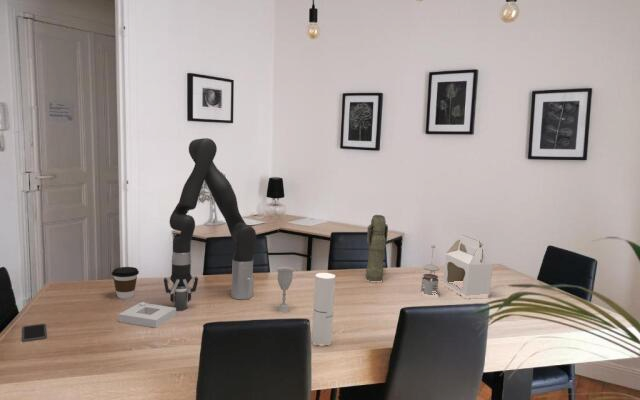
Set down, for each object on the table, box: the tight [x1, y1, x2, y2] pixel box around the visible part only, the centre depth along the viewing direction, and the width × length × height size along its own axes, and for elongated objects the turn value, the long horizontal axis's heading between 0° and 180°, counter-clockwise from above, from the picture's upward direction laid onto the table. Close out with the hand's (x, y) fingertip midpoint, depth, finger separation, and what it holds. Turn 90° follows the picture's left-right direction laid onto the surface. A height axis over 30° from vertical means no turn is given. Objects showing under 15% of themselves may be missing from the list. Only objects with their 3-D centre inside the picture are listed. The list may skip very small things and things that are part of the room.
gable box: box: [442, 234, 493, 296], centre depth 244 cm, size 22×13×28 cm, turn 16°
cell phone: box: [21, 323, 48, 343], centre depth 169 cm, size 7×14×1 cm, turn 31°
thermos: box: [365, 214, 389, 281], centre depth 254 cm, size 9×12×35 cm
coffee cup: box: [111, 266, 140, 300], centre depth 209 cm, size 11×11×12 cm
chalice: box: [276, 266, 295, 313], centre depth 204 cm, size 7×7×18 cm
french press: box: [420, 245, 441, 295], centre depth 236 cm, size 10×12×25 cm
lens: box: [173, 286, 188, 312], centre depth 199 cm, size 5×5×10 cm
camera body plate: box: [118, 301, 177, 328], centre depth 187 cm, size 16×14×4 cm
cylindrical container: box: [311, 272, 336, 345], centre depth 173 cm, size 7×7×25 cm
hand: (180, 301), depth 199 cm, fingers open, 5 cm apart
